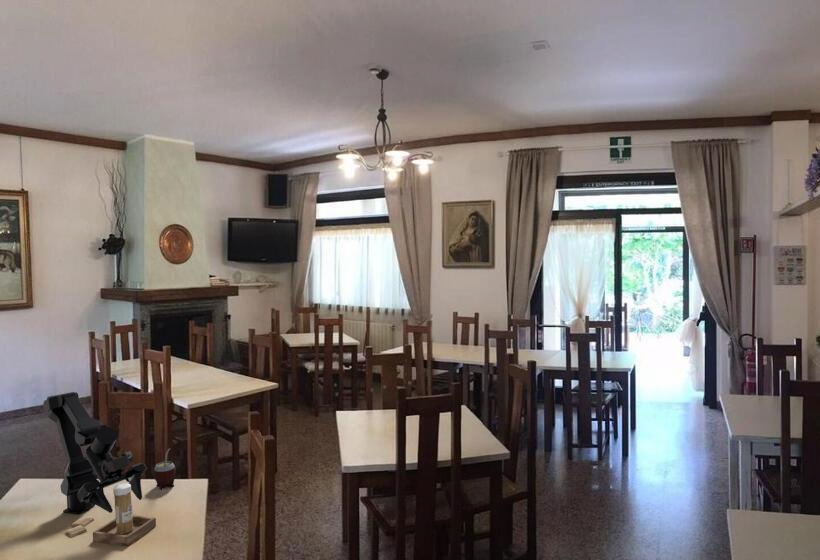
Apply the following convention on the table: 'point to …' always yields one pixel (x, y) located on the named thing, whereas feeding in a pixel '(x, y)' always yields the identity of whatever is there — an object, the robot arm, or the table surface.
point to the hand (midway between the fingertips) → (126, 505)
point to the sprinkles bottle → (123, 508)
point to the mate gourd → (165, 473)
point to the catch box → (139, 529)
